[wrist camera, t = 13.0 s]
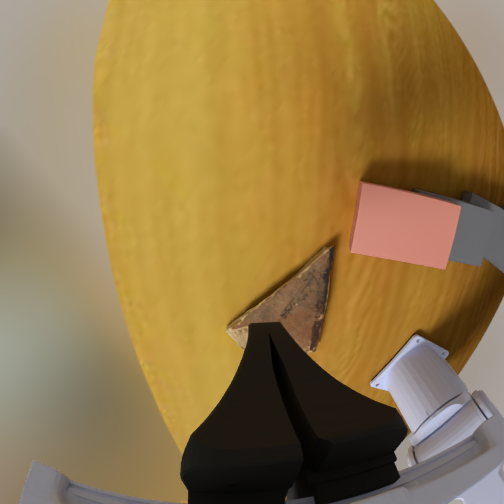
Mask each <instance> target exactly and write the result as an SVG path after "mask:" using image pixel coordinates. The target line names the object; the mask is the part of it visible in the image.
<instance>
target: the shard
mask: <svg viewBox="0 0 504 504" xmlns="http://www.w3.org/2000/svg"><path fill="white" fill-rule="evenodd" d="M334 249H335V246H331V247H328V248H327V247H326V246H325V247H323V248H322V249H321V250H320V251H319V252H318V253H317V254H316V255H315V256H314V257H312V258H311V259H310V260H309V261H308V262H307V263H306V264H305V265H304V267H303V268H302V269H301V270H299V272H298V273H297V274H296V275H294V276H293V277H292V278H291V279H289V280H288V281H287V282H286V283H285V284H283V285H282V286H281V287H279V288H278V289H277V290H276V291H275V292H274V293H273V294H272V295H270V296H268V297H267V298H265V299H264V300H263V301H262V302H260V303H259V304H258V305H257V306H255V307H253V308H251V309H249V310H248V311H247V312H246V313H245V314H243V315H242V316H241V317H239V318H238V319H236V320H234V321H233V322H232V323H231V324H230V325H229V326H227V327H226V332H227V333H228V334H229V335H230V336H231V337H232V338H233V339H234V340H235V341H236V342H237V343H238V345H239V346H240V347H241V348H242V349H244V350H245V347H246V344H247V339H248V325H249V324H250V323H263V322H280V323H281V324H282V325H283V326H284V328H285V329H286V330H287V332H288V333H289V334H290V335H291V337H292V338H293V339H294V340H295V341H296V343H297V344H298V345H299V346H300V347H301V348H302V349H303V350H304V351H305V353H306V354H307V353H309V352H314V351H316V349H317V345H318V341H319V338H320V329H321V327H322V324H323V318H324V314H325V310H326V303H327V298H328V291H329V282H330V279H329V277H330V270H331V264H332V262H333V259H334Z"/></svg>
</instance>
